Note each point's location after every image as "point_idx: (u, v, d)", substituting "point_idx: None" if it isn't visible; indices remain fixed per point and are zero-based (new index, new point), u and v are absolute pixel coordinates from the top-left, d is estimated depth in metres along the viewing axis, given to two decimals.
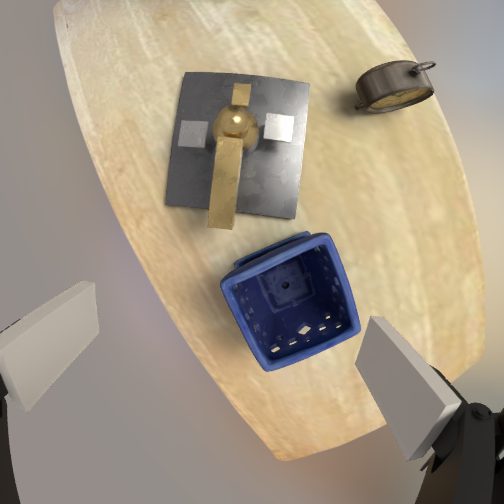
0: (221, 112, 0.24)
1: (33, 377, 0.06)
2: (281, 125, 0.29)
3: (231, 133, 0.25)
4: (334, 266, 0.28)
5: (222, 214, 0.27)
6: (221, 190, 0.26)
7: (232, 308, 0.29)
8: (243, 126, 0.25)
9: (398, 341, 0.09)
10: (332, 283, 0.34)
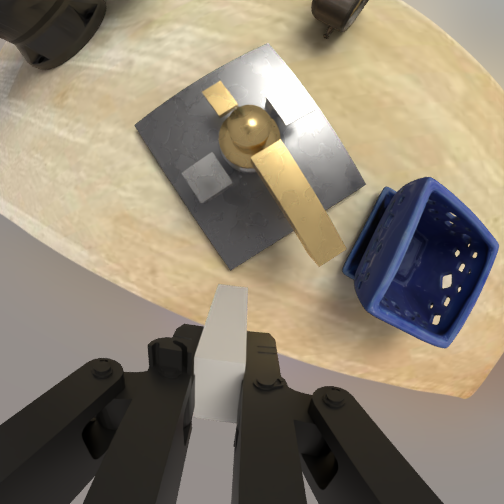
0: (229, 127, 0.17)
1: None
2: (292, 98, 0.21)
3: (261, 142, 0.18)
4: (452, 204, 0.19)
5: (325, 241, 0.19)
6: (305, 214, 0.19)
7: (392, 322, 0.21)
8: (269, 124, 0.17)
9: (235, 305, 0.11)
10: (445, 219, 0.24)
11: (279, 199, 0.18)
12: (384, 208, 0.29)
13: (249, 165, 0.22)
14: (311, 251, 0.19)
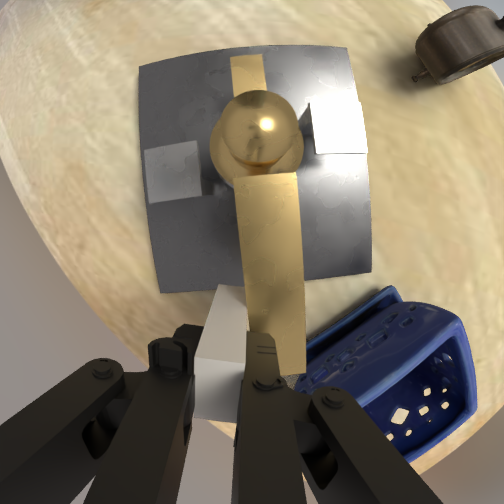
0: (226, 114, 0.10)
1: None
2: (343, 122, 0.14)
3: (263, 162, 0.10)
4: (461, 358, 0.13)
5: (282, 352, 0.12)
6: (272, 306, 0.11)
7: None
8: (290, 139, 0.10)
9: (235, 305, 0.11)
10: (437, 356, 0.18)
11: (244, 265, 0.11)
12: (376, 308, 0.23)
13: None
14: None
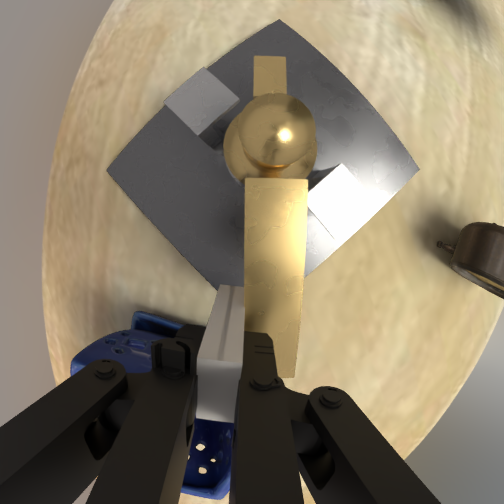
0: (246, 113, 0.10)
1: None
2: (345, 202, 0.15)
3: (277, 165, 0.10)
4: None
5: None
6: (269, 309, 0.11)
7: None
8: (306, 146, 0.10)
9: (233, 305, 0.11)
10: (230, 431, 0.20)
11: (246, 265, 0.11)
12: None
13: None
14: None
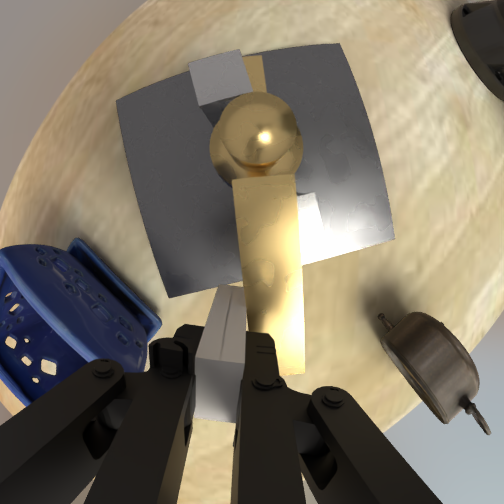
0: (225, 116, 0.10)
1: None
2: (299, 229, 0.15)
3: (262, 164, 0.10)
4: None
5: (281, 352, 0.12)
6: (271, 307, 0.11)
7: None
8: (289, 141, 0.10)
9: (235, 305, 0.11)
10: None
11: (243, 266, 0.11)
12: (138, 313, 0.23)
13: None
14: None
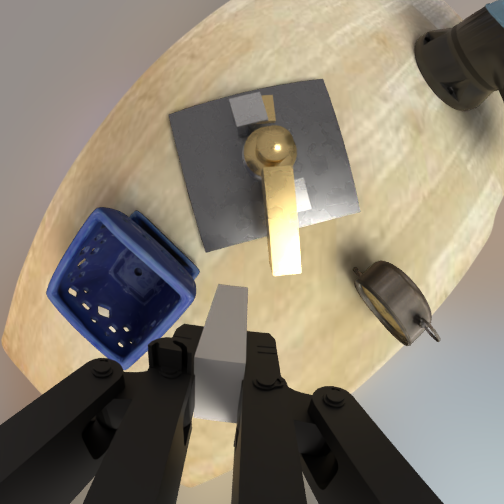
0: (259, 136, 0.21)
1: None
2: None
3: (277, 160, 0.22)
4: (165, 317, 0.24)
5: (287, 258, 0.23)
6: (282, 231, 0.22)
7: (80, 232, 0.22)
8: (290, 150, 0.21)
9: (235, 305, 0.11)
10: (157, 320, 0.30)
11: (268, 209, 0.22)
12: (180, 265, 0.34)
13: (259, 172, 0.26)
14: (273, 261, 0.23)
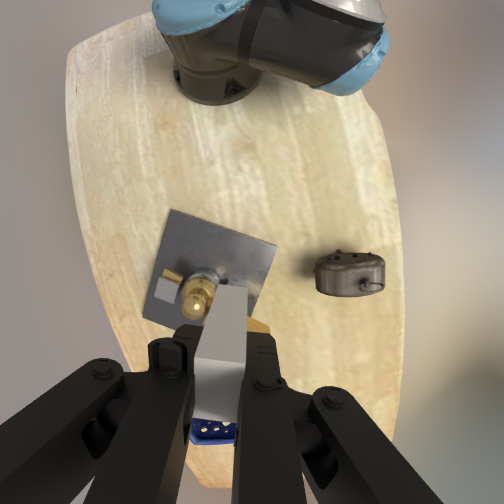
0: (185, 314, 0.35)
1: None
2: None
3: (203, 313, 0.35)
4: None
5: None
6: None
7: None
8: (201, 305, 0.34)
9: (235, 305, 0.11)
10: None
11: None
12: None
13: (207, 311, 0.39)
14: None
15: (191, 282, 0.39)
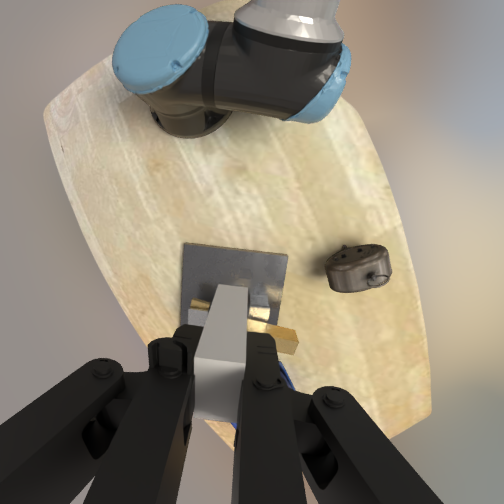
0: None
1: None
2: (260, 315, 0.43)
3: None
4: None
5: (287, 346, 0.39)
6: None
7: None
8: None
9: (235, 305, 0.11)
10: None
11: None
12: None
13: None
14: (285, 352, 0.40)
15: None
